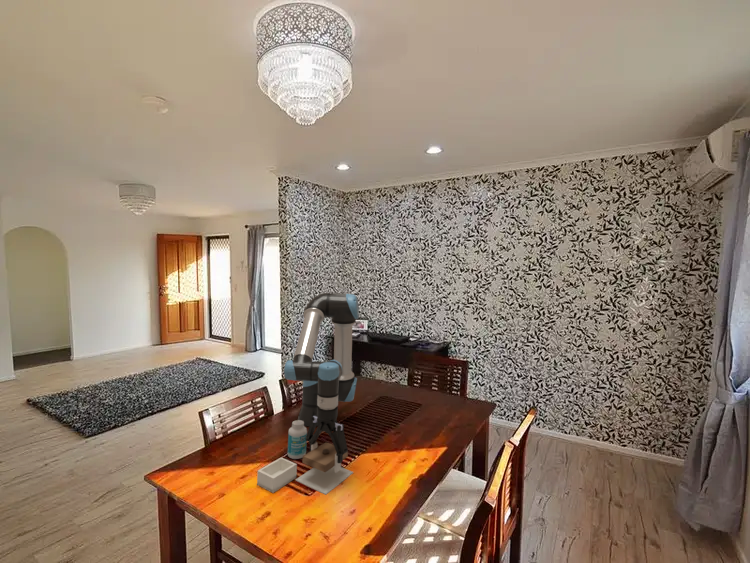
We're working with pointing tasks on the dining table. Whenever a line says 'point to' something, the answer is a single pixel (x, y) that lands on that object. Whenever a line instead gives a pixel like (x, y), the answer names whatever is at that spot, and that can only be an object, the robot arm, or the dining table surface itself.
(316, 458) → the cover
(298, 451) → the pill bottle
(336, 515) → the dining table surface
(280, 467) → the dish
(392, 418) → the dining table surface
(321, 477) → the mat
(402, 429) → the dining table surface
